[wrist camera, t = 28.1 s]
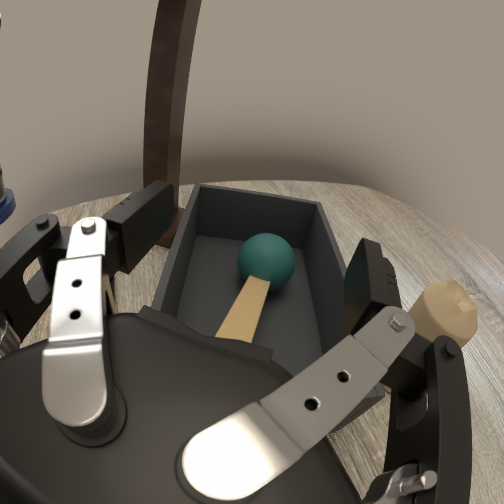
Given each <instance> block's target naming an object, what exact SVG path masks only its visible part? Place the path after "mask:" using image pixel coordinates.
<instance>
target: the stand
mask: <svg viewBox="0 0 504 504" xmlns="http://www.w3.org/2000/svg"><path fill="white" fill-rule="evenodd" d="M201 1H202V0H159V3H158V8H157V13H156V19H155V25H154V31H153V37H152V45H151V52H150V60H149V68H148V78H147V90H146V103H145V120H144V148H143V182H144V185H143V188H144V189H145V188H146V187H147V186H149V185H150V184H152V183H153V182H154V181H156V180H159V181H163V182H167V183H171V184H173V185H174V217H173V222H172V224H171V226H170V228H169V229H168V231H167V232H166V233H165V234H164V235H163V236H162V237H161V238H160V239H159V240H158V241H157V243H156V244H158V245H161V246H165V247H168V248H171V246H172V243H173V240H174V238H175V235H176V232H177V230H178V227H179V224H180V222H181V219H182V216H183V214H184V211H185V209H184V208H180V207H178V195H179V175H180V159H181V145H182V133H183V122H184V112H185V103H186V94H187V85H188V78H189V71H190V63H191V57H192V50H193V44H194V38H195V33H196V26H197V21H198V16H199V11H200V6H201Z"/></svg>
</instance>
